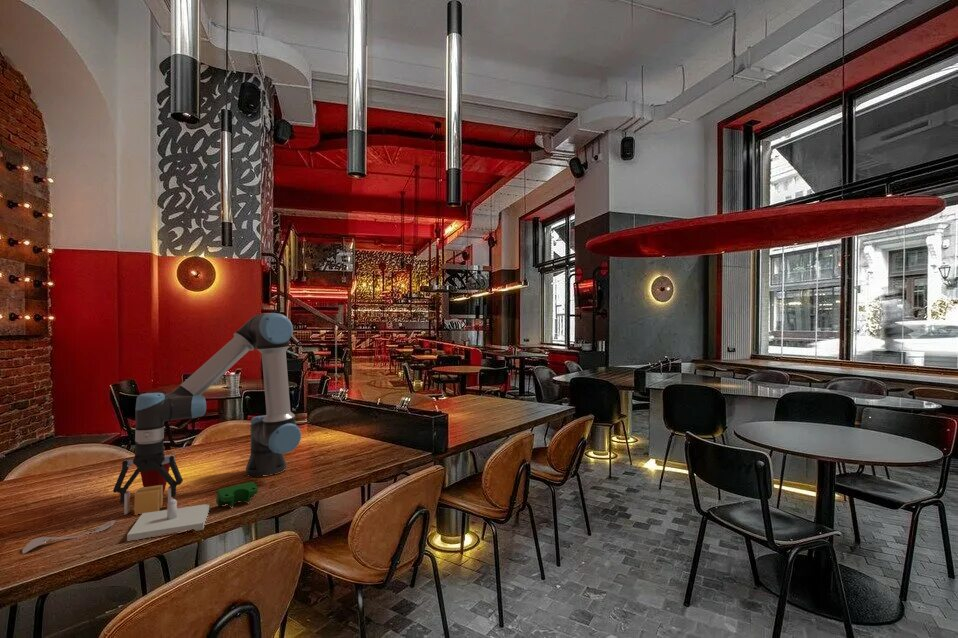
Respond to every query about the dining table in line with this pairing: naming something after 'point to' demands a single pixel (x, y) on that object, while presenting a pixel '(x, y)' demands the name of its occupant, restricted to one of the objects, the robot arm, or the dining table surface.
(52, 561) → the dining table surface
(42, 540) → the metal spoon
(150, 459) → the robot arm
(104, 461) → the dining table surface
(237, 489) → the clamp
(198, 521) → the base plate
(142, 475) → the plastic cup
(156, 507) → the tan wooden block
